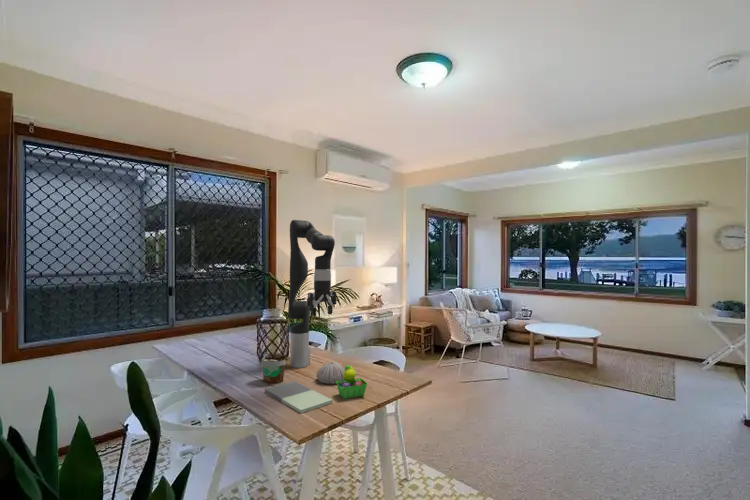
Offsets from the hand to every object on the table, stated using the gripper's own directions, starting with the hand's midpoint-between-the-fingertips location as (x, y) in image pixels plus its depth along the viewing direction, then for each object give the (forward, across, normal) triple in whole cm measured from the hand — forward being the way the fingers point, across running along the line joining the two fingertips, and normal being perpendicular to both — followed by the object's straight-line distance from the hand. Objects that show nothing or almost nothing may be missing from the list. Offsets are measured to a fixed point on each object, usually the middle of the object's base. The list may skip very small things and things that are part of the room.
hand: (322, 315), depth 164 cm
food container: (+30, +17, -15) cm, 38 cm away
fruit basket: (+30, -1, +20) cm, 36 cm away
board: (+30, +17, +8) cm, 35 cm away
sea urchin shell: (+30, -5, +1) cm, 31 cm away
